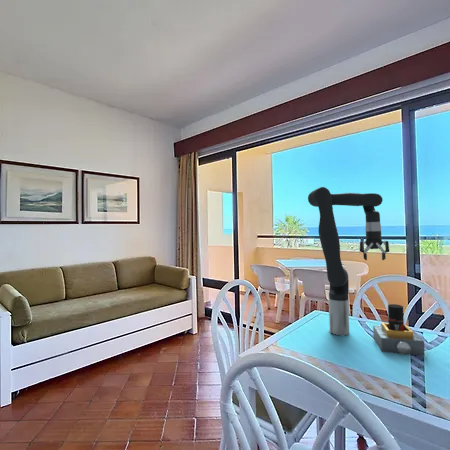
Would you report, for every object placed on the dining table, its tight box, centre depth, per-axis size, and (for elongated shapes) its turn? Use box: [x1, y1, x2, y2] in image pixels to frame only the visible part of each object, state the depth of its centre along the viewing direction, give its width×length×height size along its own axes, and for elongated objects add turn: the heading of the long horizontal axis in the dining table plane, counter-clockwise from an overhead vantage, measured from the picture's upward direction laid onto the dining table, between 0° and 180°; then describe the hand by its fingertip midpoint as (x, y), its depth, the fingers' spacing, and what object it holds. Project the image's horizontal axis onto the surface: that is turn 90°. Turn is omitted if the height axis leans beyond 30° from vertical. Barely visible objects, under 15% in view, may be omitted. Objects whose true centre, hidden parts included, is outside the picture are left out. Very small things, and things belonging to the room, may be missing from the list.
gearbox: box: [372, 322, 425, 357], centre depth 128 cm, size 16×18×8 cm
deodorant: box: [387, 303, 405, 331], centre depth 129 cm, size 6×6×15 cm
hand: (374, 260), depth 156 cm, fingers open, 8 cm apart
